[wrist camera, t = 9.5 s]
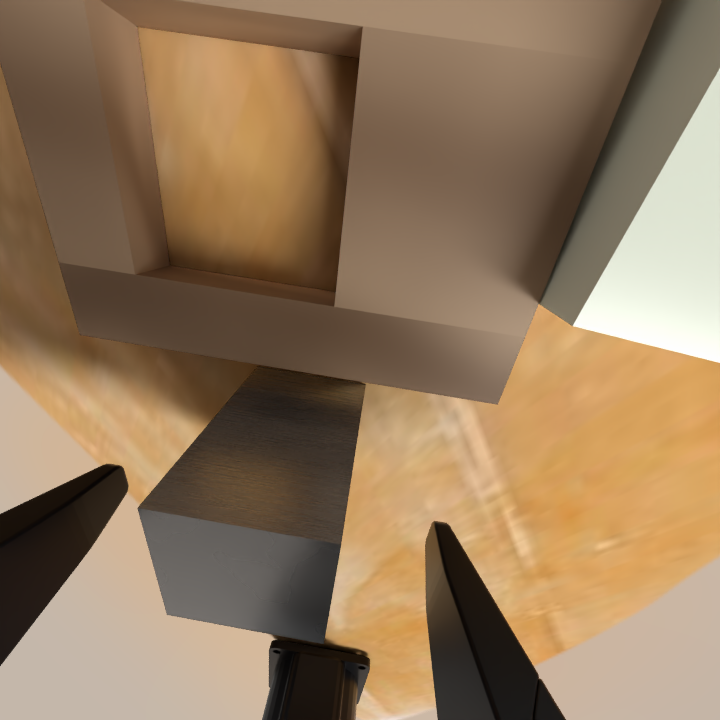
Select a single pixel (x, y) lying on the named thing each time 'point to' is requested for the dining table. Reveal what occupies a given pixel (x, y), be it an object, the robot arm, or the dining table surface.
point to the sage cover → (654, 199)
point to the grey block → (259, 507)
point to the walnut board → (364, 182)
